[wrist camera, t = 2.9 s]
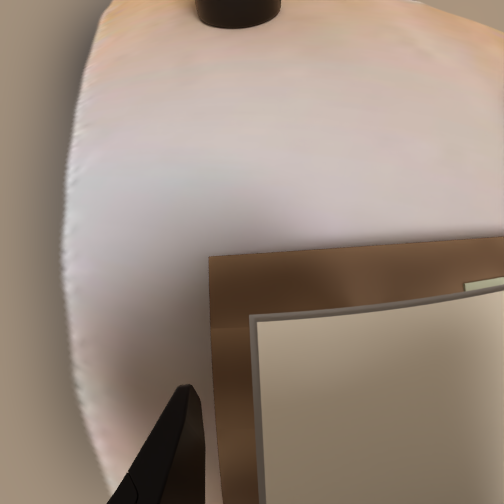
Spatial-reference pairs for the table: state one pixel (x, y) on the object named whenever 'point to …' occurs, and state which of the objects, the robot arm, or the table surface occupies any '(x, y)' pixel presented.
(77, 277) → the table surface
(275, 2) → the ink bottle
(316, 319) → the plug
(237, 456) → the board
